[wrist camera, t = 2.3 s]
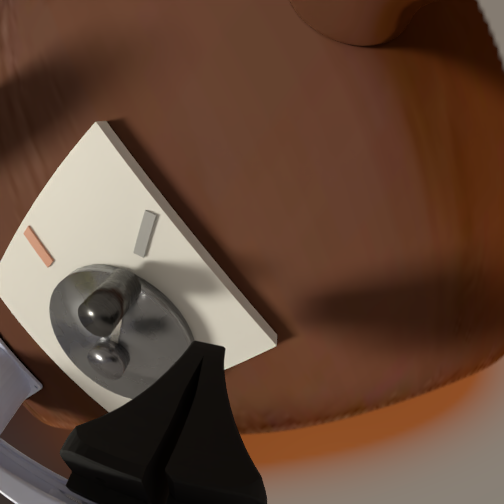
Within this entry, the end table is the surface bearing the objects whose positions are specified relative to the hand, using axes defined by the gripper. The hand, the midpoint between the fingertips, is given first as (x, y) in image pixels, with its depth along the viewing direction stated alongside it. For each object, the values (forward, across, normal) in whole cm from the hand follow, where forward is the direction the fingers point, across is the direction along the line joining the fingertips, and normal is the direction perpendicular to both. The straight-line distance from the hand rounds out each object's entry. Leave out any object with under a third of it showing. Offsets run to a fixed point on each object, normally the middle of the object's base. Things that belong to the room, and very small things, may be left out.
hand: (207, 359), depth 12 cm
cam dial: (+3, +6, +4) cm, 8 cm away
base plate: (+5, +8, +2) cm, 10 cm away
